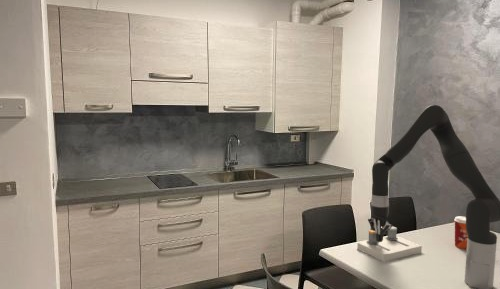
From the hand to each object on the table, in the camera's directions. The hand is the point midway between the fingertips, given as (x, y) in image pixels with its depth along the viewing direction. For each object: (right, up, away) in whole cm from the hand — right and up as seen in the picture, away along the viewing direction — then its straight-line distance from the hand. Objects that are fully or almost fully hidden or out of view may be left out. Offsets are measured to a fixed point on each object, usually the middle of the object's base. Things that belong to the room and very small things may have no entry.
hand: (379, 241), depth 168 cm
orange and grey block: (-2, -2, +4) cm, 4 cm away
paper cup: (+43, -5, +8) cm, 44 cm away
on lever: (+9, -1, +9) cm, 13 cm away
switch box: (+6, -5, +3) cm, 8 cm away
